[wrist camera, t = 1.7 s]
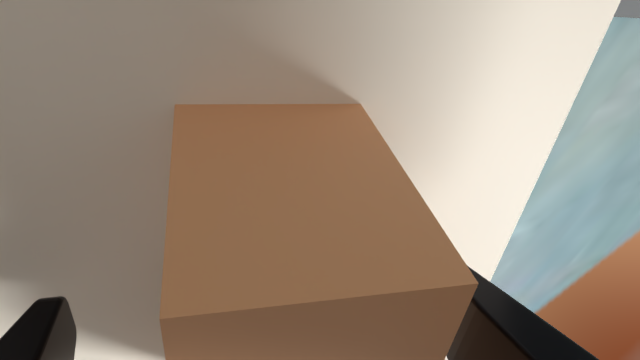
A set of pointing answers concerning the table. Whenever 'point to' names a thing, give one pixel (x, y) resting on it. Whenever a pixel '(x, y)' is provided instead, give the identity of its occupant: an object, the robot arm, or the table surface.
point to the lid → (274, 166)
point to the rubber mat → (628, 9)
